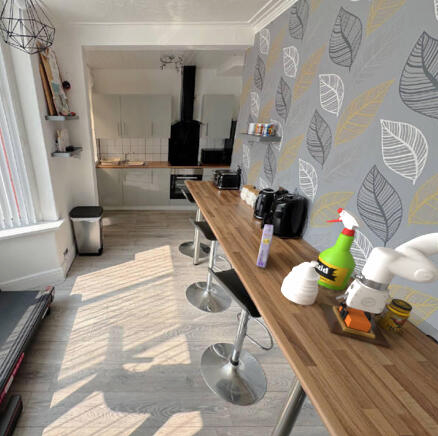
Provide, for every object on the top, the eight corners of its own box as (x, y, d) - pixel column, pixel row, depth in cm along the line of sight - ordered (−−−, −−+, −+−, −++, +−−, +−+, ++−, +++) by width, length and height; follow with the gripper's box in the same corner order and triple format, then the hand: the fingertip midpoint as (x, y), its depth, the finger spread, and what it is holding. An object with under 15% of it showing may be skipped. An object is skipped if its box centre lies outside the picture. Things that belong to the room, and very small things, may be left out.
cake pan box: (258, 249, 138) (265, 222, 131) (267, 252, 136) (275, 224, 129) (254, 266, 122) (262, 236, 115) (265, 269, 120) (273, 238, 113)
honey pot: (321, 299, 101) (336, 265, 94) (302, 308, 96) (316, 272, 88) (293, 282, 111) (304, 249, 104) (274, 289, 106) (285, 255, 99)
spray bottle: (320, 266, 125) (344, 204, 111) (353, 288, 108) (386, 219, 94) (298, 268, 122) (320, 205, 108) (328, 291, 106) (359, 221, 92)
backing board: (368, 316, 93) (371, 312, 92) (389, 348, 80) (392, 343, 79) (319, 304, 98) (321, 300, 97) (330, 332, 85) (333, 327, 84)
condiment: (396, 338, 85) (412, 313, 80) (367, 321, 91) (380, 297, 87) (402, 329, 88) (418, 305, 84) (374, 314, 95) (387, 291, 90)
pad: (356, 314, 91) (360, 307, 90) (367, 332, 84) (371, 325, 82) (338, 309, 93) (342, 303, 92) (347, 327, 85) (351, 320, 84)
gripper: (347, 281, 80) (329, 320, 88) (411, 295, 75) (386, 335, 82) (339, 269, 87) (323, 306, 94) (398, 281, 82) (376, 319, 89)
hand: (353, 319), depth 88 cm, fingers closed on pad, 5 cm apart
